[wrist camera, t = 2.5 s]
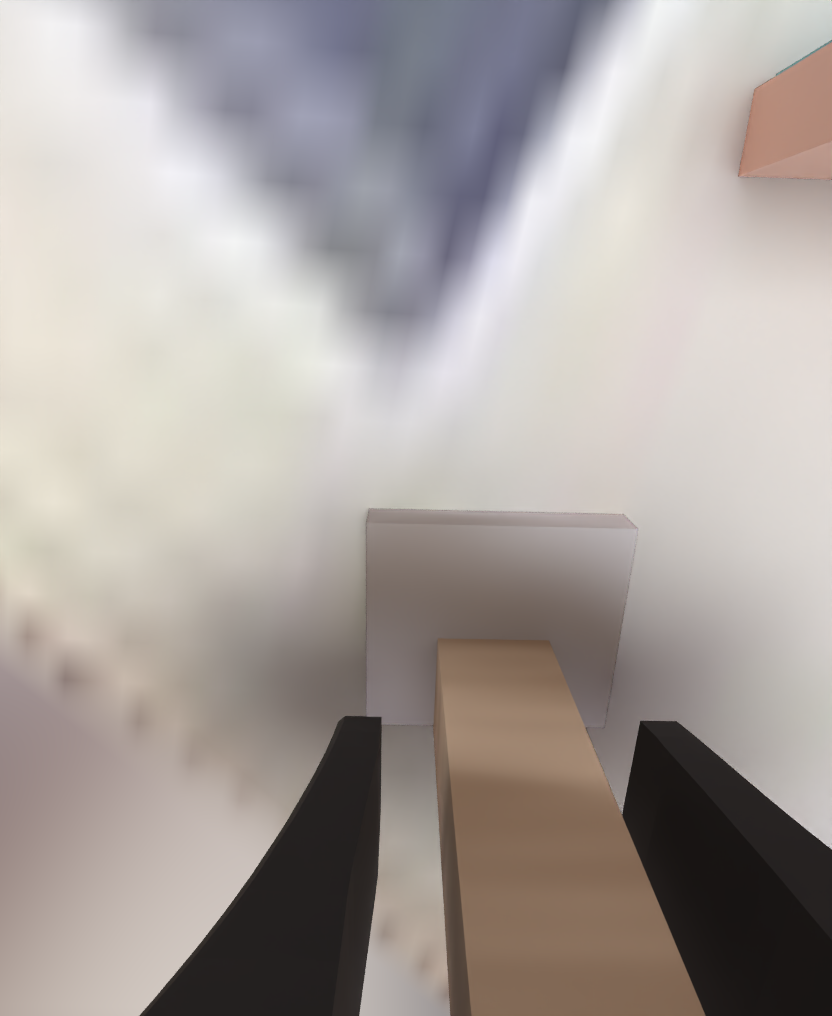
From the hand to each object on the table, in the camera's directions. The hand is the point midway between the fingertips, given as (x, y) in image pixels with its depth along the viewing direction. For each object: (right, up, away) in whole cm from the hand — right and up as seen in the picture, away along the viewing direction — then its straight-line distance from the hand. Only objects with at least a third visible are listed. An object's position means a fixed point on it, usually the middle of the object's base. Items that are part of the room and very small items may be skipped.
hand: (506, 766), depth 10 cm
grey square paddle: (0, +2, +2) cm, 3 cm away
